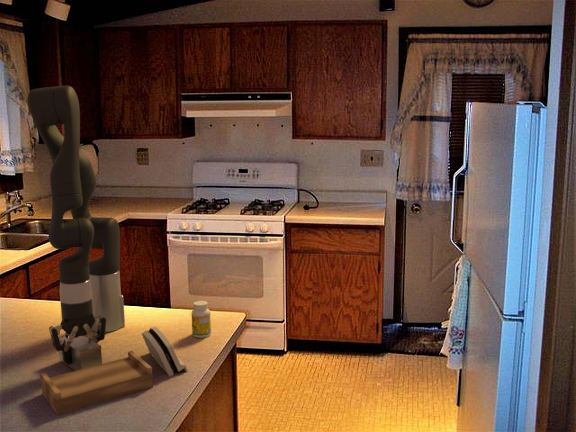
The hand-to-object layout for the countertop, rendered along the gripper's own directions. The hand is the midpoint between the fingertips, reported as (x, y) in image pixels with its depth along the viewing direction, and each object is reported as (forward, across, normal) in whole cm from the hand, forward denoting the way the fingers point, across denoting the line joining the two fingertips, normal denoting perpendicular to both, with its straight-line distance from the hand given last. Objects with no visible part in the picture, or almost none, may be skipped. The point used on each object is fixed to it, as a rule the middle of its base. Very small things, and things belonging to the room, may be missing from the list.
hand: (80, 360), depth 157 cm
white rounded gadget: (+2, -18, +11) cm, 21 cm away
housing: (+1, 0, 0) cm, 1 cm away
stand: (+1, +1, +16) cm, 16 cm away
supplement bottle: (+2, -35, 0) cm, 35 cm away
